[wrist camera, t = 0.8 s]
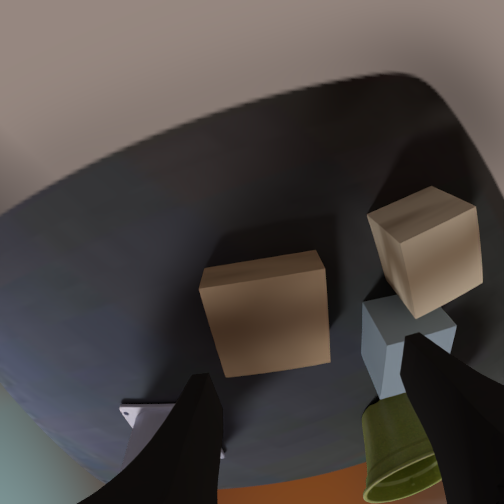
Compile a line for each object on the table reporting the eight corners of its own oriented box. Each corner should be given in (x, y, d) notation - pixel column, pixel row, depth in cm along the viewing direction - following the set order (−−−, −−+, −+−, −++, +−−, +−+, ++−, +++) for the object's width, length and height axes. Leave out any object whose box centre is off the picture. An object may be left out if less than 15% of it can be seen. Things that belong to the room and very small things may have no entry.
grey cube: (416, 339, 23) (442, 380, 18) (360, 353, 23) (379, 399, 18) (423, 287, 21) (456, 325, 16) (362, 301, 21) (387, 345, 17)
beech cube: (443, 250, 20) (482, 282, 15) (385, 278, 20) (415, 319, 16) (430, 185, 18) (475, 206, 13) (365, 213, 19) (399, 243, 14)
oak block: (321, 335, 22) (330, 362, 20) (228, 349, 23) (225, 377, 20) (314, 247, 20) (325, 268, 17) (205, 265, 20) (198, 288, 17)
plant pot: (418, 425, 28) (443, 484, 20) (339, 443, 28) (355, 511, 20) (443, 366, 24) (483, 433, 16) (350, 387, 24) (377, 470, 16)
